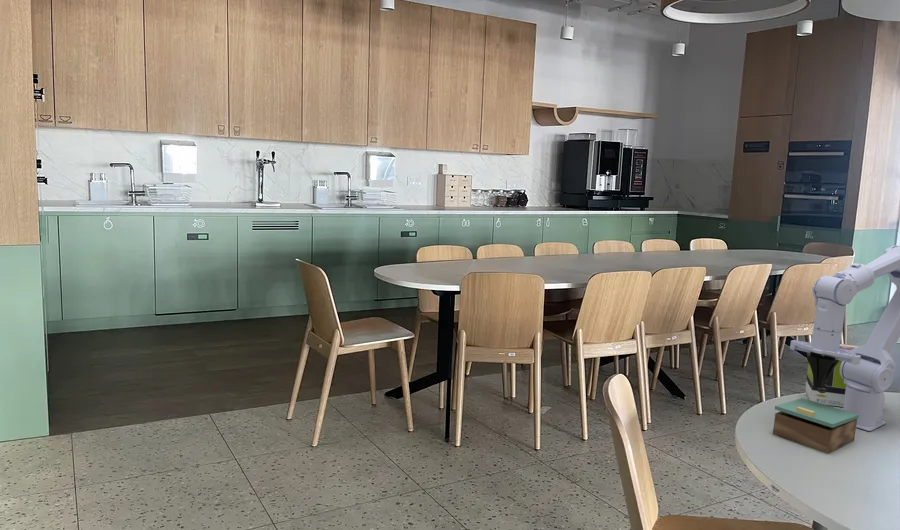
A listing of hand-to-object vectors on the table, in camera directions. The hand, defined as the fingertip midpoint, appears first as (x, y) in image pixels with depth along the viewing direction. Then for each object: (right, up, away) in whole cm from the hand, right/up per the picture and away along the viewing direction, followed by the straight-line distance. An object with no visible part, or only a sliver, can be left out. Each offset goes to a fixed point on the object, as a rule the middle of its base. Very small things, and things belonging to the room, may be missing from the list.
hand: (819, 386), depth 156 cm
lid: (-3, -5, -4) cm, 7 cm away
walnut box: (-3, -11, -3) cm, 12 cm away
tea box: (+17, -8, +22) cm, 29 cm away
